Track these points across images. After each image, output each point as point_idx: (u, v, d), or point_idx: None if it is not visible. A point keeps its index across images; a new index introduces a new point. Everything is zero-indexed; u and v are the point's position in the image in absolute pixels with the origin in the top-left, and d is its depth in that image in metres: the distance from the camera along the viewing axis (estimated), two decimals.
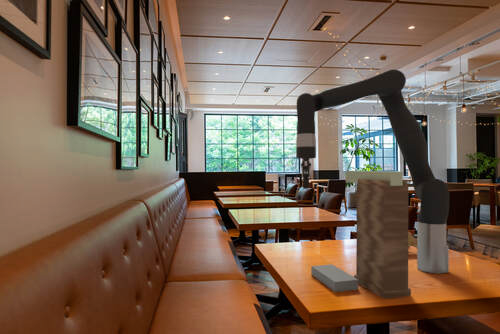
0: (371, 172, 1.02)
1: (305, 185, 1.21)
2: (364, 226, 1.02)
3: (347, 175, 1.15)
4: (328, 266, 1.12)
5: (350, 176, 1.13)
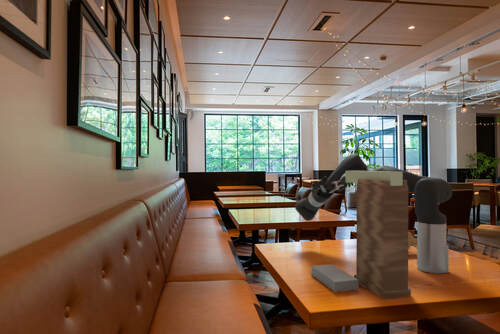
0: (371, 172, 1.02)
1: (323, 180, 1.28)
2: (364, 226, 1.02)
3: (347, 175, 1.15)
4: (328, 266, 1.12)
5: (350, 176, 1.13)
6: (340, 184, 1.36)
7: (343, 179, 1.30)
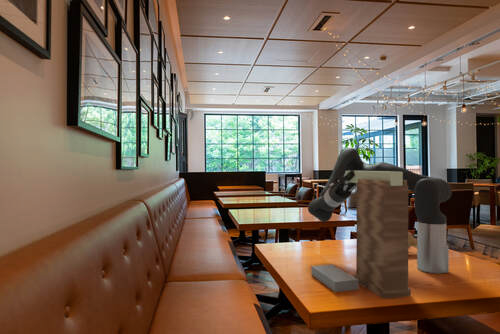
0: (371, 172, 1.02)
1: (349, 174, 1.11)
2: (364, 226, 1.02)
3: None
4: (328, 266, 1.12)
5: None
6: None
7: None
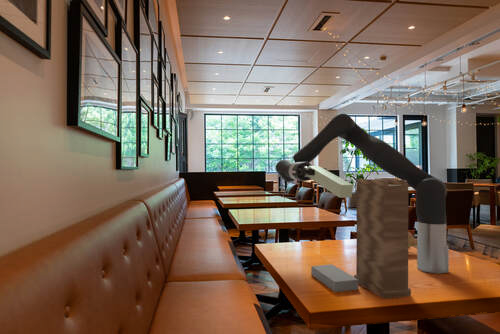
0: (327, 178, 1.05)
1: (310, 172, 1.15)
2: (364, 226, 1.02)
3: None
4: (328, 266, 1.12)
5: None
6: None
7: None
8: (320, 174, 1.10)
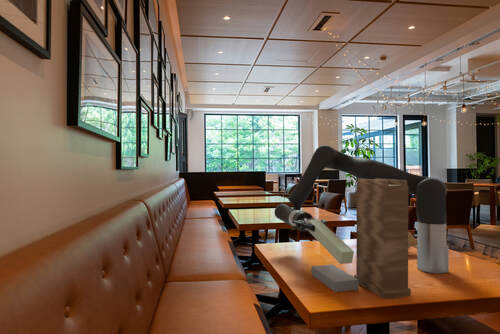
0: (327, 239, 1.05)
1: (310, 228, 1.15)
2: (364, 226, 1.02)
3: None
4: (328, 266, 1.12)
5: None
6: (322, 221, 1.23)
7: None
8: (320, 233, 1.10)
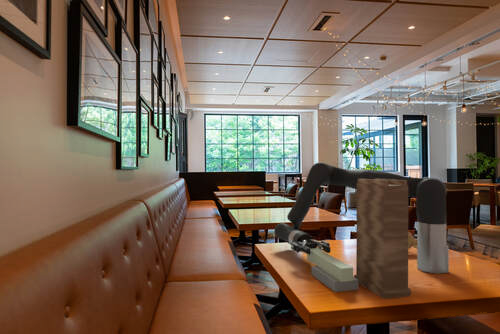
0: (326, 261, 1.06)
1: (305, 251, 1.15)
2: (364, 226, 1.02)
3: None
4: None
5: (311, 256, 1.17)
6: (324, 243, 1.24)
7: (326, 249, 1.17)
8: (319, 257, 1.10)
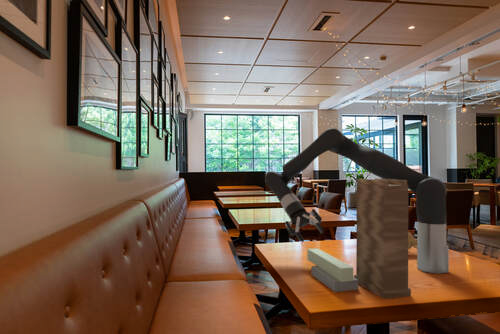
0: (326, 261, 1.06)
1: (299, 239, 1.28)
2: (364, 226, 1.02)
3: (308, 254, 1.19)
4: None
5: (311, 256, 1.17)
6: (315, 215, 1.33)
7: (319, 229, 1.30)
8: (319, 257, 1.10)
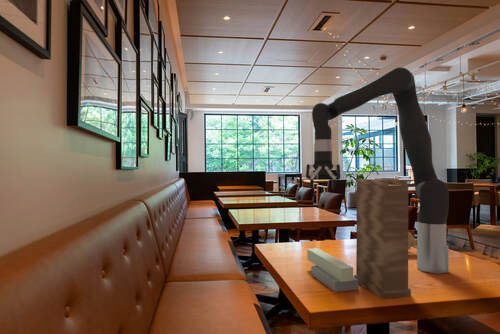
0: (326, 261, 1.06)
1: None
2: (364, 226, 1.02)
3: (308, 254, 1.19)
4: None
5: (311, 256, 1.17)
6: (337, 171, 1.37)
7: (332, 185, 1.38)
8: (319, 257, 1.10)
